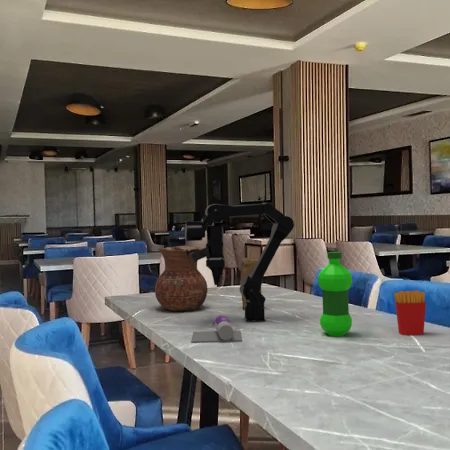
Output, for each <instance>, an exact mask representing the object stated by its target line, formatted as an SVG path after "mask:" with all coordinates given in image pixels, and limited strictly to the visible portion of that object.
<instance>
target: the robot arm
mask: <svg viewBox="0 0 450 450" xmlns="http://www.w3.org/2000/svg"><path fill="white" fill-rule="evenodd" d="M204 211H205V212H204V213H205V214H204V216H203V217H202V218H201V220H200V221H189V220H188V221H185V231H184V239H185V242H192V241H193V242H194V241H197V242H198V241H200V242H201V241H203V239H204V238H206V243H205V247H203V248H202V249H200V250H199V249H198V248H197V249H195V250H194V252H193V253H191V256H192V259H193V261H194V262H196V261H197V262H198V261H199V260H201V259H204V258H205V259H206V260H205V266H206V267H207V269H209V270H210V271H211V275H212V279H213V283H214V286H218V284H219V282H220V279H221V277H222V274H223V271H224V268H225V266H226V264H225V263H226V262H225V256H224V255H225V254H224V252H225V251H224V228H225V227H226V228H228V227H229V224H228V223H227V222H226V220H225V219H227V218H231V217H236V216H237V217H238V216H239V217H240V216H251V215H264V216H265V217H266V219H268V220H269V222H271V223H272V226H271V232H270V235H269V236H270V237H269V238H268V240H267V243H266V245H265V246H264V248H263V251H262V252H261V254H260V256H259V257H258V259H259V260H258V262H257V263H256V265H255V267H254V269H253V271H252V272H251V273H250V274H249V276H248V275H246V274H245V275H244V277H243V280H242V281H241V280H240V282H239V285H240V286H239V293H240V294H241V296H242V295H243V296H244V297H245V298H246V301H248V302H246V306H245V307H244V308H245V309H244V308H243V309H244V320H246V322H265V321H266V318H265V317H266V316H265V302H266V299H267V297H265V296H264V295H263V294H262V292H261V293H260V289H261V290H262V285H263V284H262V283H263V278H264V276H265V274H266V272H267V270H268V268H269V267H270V265H271V262H272V261H273V259H274V256H275V255H276V253H277V251H278V250H279V247H280V245H281V244H282V242H283V241H284V240H285V239H286V238H287V237H288V236H289V234H291V232H292V231H293V229H294V227H295V222H294V220H293V218H292V217H290V216H288V215H285V214H283V213H282V212H281V211H279V209H277V208H276V207H274V206H273V204H272V203H270V202H263V203H257V204H256V203H255V204H254V203H253V204H241V205H240V204H239V205H229V204H219V203H213V204H209V205H208V206H207V207H206V208H205V210H204ZM213 221H214V222H213ZM215 221H216V222H215ZM217 221H218V222H217ZM219 221H220V222H219ZM210 223H211V225H209V224H210ZM204 224H206V225H204ZM207 224H208V225H207Z"/></svg>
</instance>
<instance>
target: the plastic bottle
mask: <svg viewBox="0 0 450 450" xmlns="http://www.w3.org/2000/svg"><path fill="white" fill-rule="evenodd" d="M327 259H329V260H328V261H329V263H328V264H327V265H326V266H324V268H323V269H322V270H320V272H319V274H318V277H317V284H318V288H320V289H321V290H322V315H321V317H320V320H319V325H320V327H321V329H322V330H323V331H324V332H325V333H326V334H327V335H328V336H331V337H332V336H333V337H341V336H345V335H346V334H347V333H348V332H349V331H350V330H351V328H352V325H353V319H352V316H351V314H350V312H349V309H350V308H349V290H350V288H351V287H352V283H353V275H352V273H351V271H349V270H348V269H347V268H346V267H345V266H344V265H343V264H341V259H342V251H328V252H327Z"/></svg>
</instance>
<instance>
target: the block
mask: <svg viewBox="0 0 450 450" xmlns="http://www.w3.org/2000/svg"><path fill="white" fill-rule="evenodd" d="M258 260H259V257H256V256H255V257H243V258H242V259H241V266H240V282H241V281H242V280H243V277H244V275H245V274H246V275H248V276H249V274H250V273H251V272H252V271H253V269H254V267H255V265H256V263H257V262H258ZM260 293H261V294H262V288H261V289H260ZM241 302H242V308H243V309H244V310H245V308H244V307H245V306H246V302H248V301H246V298H245V297H244V296H243V295H242V294H241Z"/></svg>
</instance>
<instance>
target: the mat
mask: <svg viewBox="0 0 450 450" xmlns="http://www.w3.org/2000/svg"><path fill="white" fill-rule="evenodd" d="M233 332H234V333H233V336H232V338H231V339H229V340H223V339H221V338H220V337H219V335H218V333H217V330H208V331H207V330H206V331H205V330H204V331H202V330H201V331H193V332H192V337H191V340H190V343H191V344H194V343H199V344H200V343H230V342H234V343H235V342H243V337H242V332H241V329H239V330H233Z"/></svg>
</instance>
